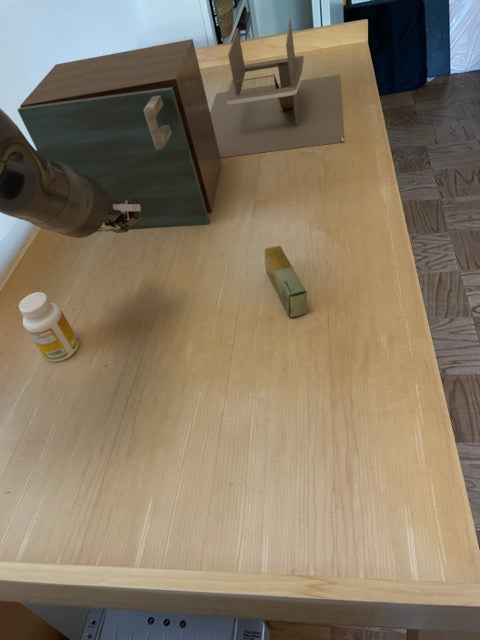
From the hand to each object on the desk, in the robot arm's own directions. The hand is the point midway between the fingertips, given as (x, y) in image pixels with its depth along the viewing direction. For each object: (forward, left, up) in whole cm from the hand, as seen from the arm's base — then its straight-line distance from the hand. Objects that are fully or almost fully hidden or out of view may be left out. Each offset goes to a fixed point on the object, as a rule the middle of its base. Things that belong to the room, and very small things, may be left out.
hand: (122, 225), depth 78 cm
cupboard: (-5, +29, -12) cm, 31 cm away
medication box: (+22, -4, -12) cm, 26 cm away
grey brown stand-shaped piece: (+18, +58, -12) cm, 62 cm away
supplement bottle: (-11, -12, -12) cm, 21 cm away
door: (-5, +15, -12) cm, 20 cm away
